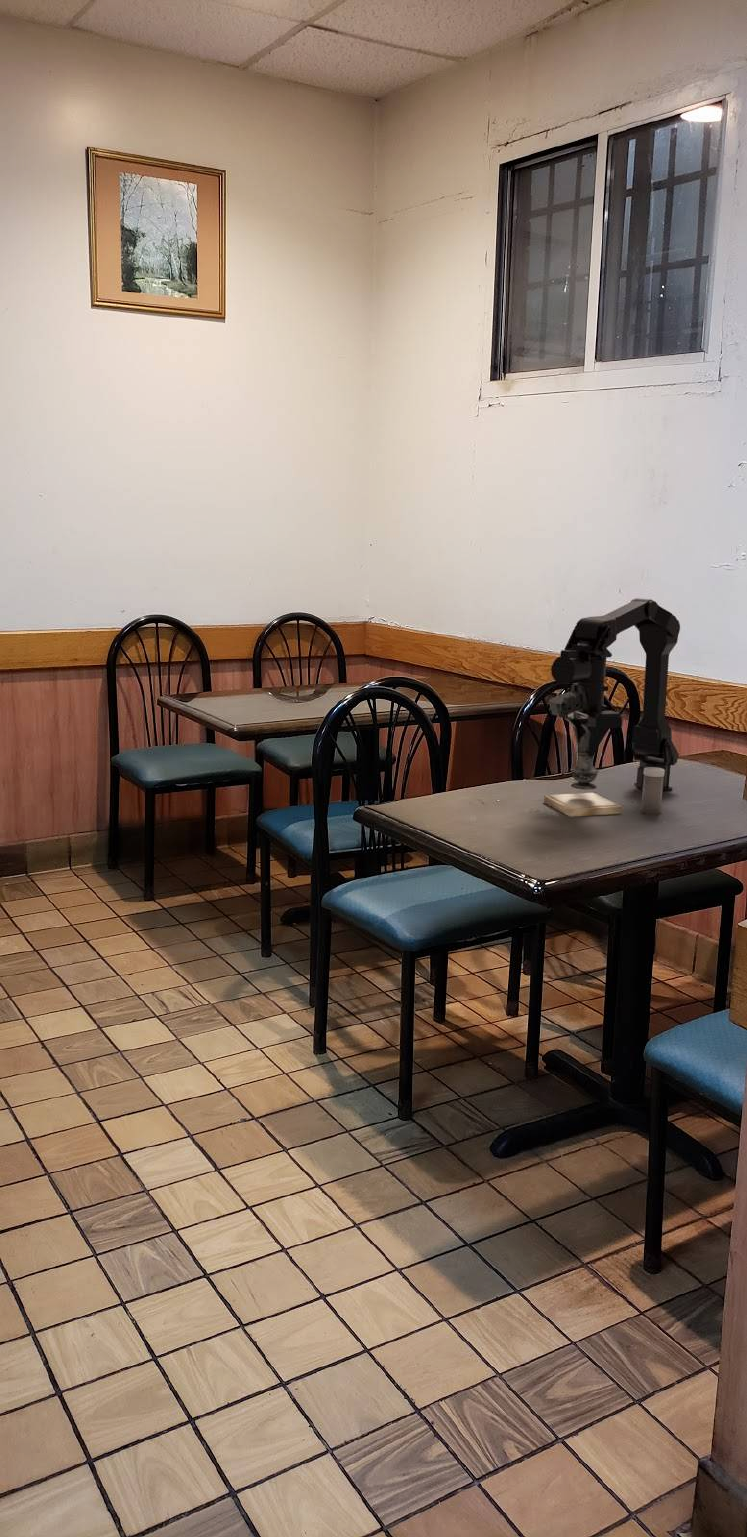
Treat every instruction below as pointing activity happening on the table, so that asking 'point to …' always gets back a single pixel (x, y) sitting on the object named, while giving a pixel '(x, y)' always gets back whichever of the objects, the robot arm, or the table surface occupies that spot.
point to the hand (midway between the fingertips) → (586, 753)
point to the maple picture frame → (582, 804)
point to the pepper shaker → (652, 790)
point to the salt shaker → (584, 768)
